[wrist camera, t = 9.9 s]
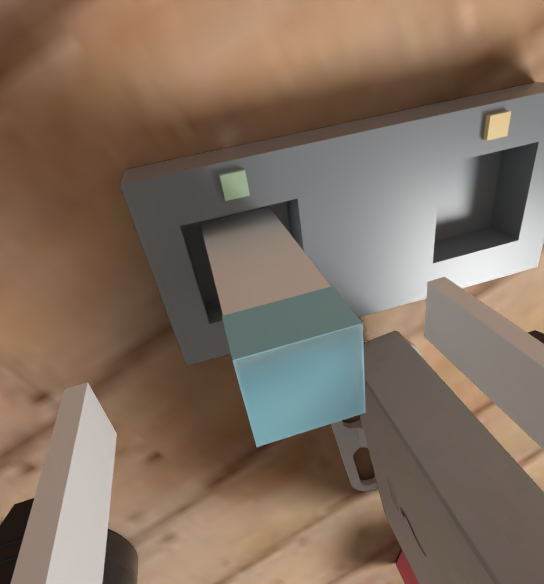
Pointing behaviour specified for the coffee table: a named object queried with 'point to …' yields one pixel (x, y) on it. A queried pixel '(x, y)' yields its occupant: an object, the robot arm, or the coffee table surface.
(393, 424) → the network device
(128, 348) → the coffee table surface
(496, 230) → the jack panel
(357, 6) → the coffee table surface
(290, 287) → the plug
